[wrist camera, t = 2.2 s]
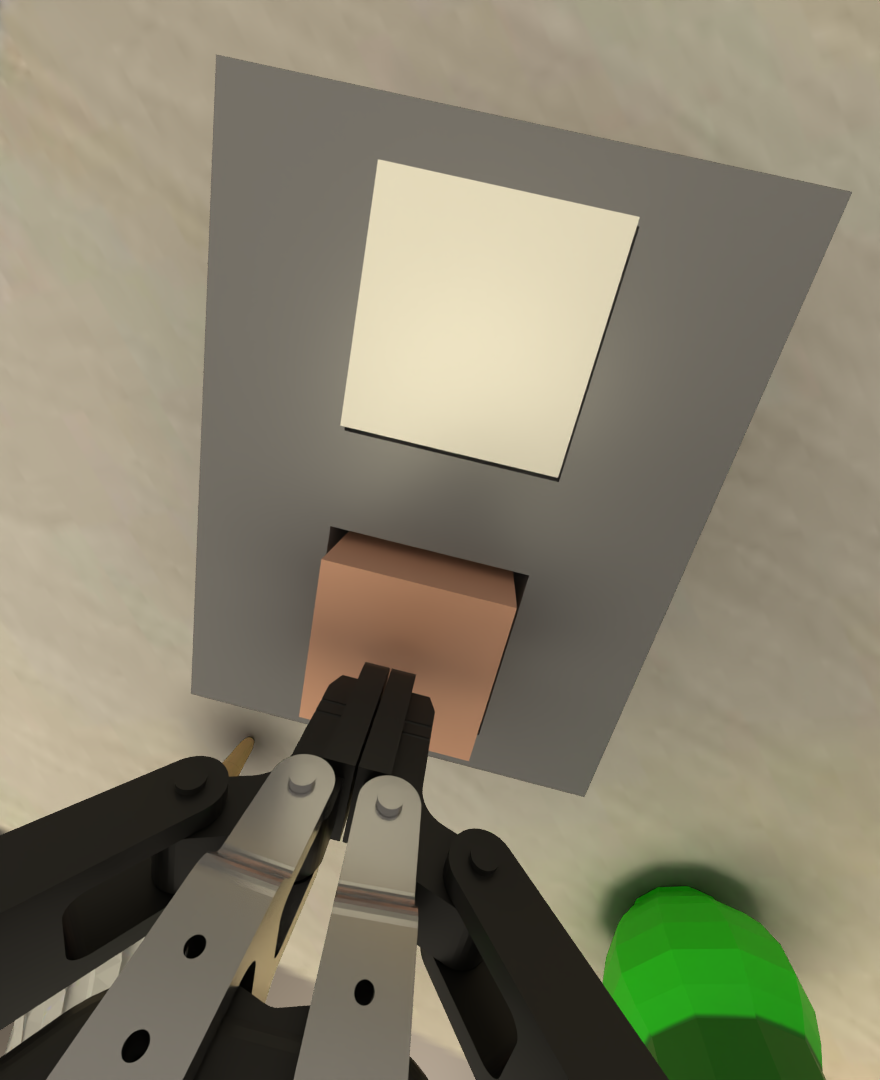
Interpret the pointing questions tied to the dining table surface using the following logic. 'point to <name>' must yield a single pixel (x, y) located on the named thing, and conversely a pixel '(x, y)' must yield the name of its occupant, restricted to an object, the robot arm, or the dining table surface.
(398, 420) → the white key
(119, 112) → the dining table surface
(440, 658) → the terracotta key
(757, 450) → the dining table surface
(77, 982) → the ice cream cone
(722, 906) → the plastic bottle
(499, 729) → the block
